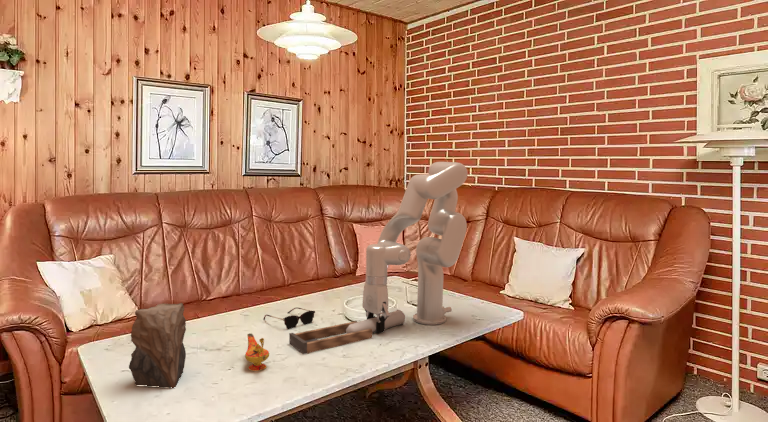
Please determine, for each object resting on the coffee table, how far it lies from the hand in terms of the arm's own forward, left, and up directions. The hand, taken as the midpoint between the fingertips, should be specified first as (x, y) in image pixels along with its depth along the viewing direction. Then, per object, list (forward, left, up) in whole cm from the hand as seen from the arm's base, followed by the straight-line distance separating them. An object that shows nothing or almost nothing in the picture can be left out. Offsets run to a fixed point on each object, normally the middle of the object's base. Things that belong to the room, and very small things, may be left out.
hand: (375, 329), depth 179 cm
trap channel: (+18, 0, -1) cm, 18 cm away
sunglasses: (+21, -26, -1) cm, 34 cm away
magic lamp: (+46, +5, -1) cm, 46 cm away
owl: (+71, +1, -1) cm, 71 cm away
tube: (0, 0, -1) cm, 1 cm away
